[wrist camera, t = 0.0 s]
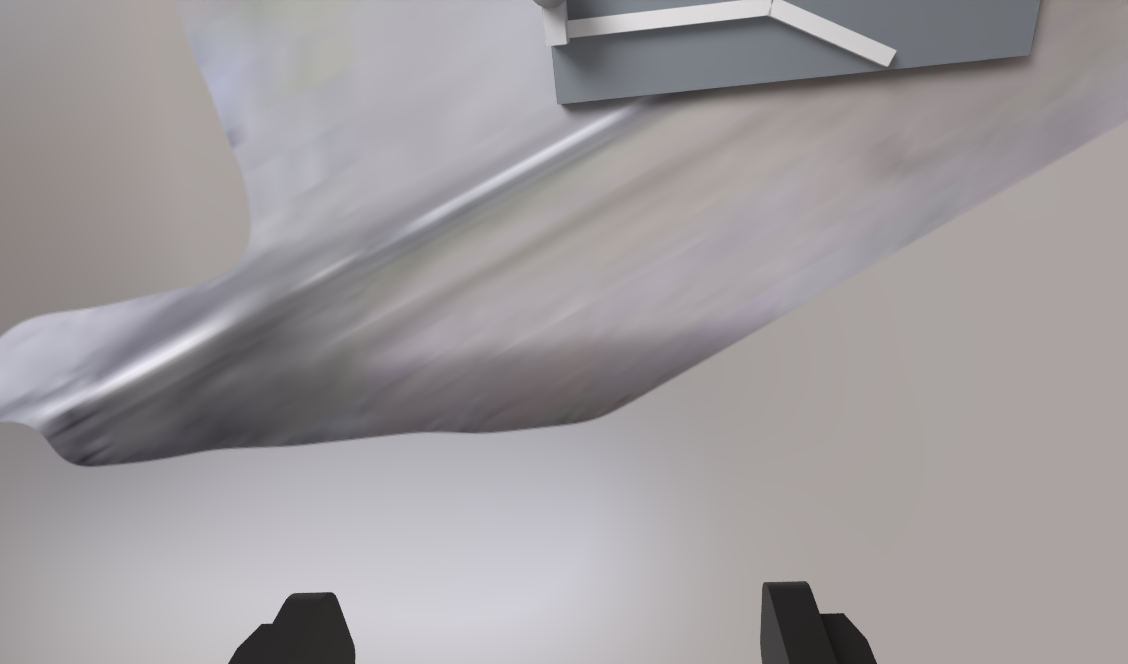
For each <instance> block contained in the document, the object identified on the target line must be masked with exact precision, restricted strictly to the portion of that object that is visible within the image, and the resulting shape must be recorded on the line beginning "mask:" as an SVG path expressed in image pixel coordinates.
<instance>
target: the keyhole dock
mask: <svg viewBox="0 0 1128 664" xmlns="http://www.w3.org/2000/svg"><path fill="white" fill-rule="evenodd" d="M534 1H535V3H537V4H538V5H540V6H542V14H543V23H544V32H545V42H546V46H551V48H552V58H553V67H554V77H555V87H556V96H557V104H567V103H576V102H586V101H595V100H605V99H614V98H624V97H634V96H643V95H653V94H662V93H672V92H682V91H691V90H701V89H710V88H720V87H729V86H739V85H749V84H758V83H768V82H777V81H787V80H796V79H806V78H816V77H825V76H835V75H844V74H854V73H864V72H873V71H883V70H892V69H902V68H911V67H921V66H931V65H940V64H950V63H959V62H969V61H979V60H988V59H998V58H1007V57H1017V56H1026V55H1030V52H1031V47H1032V42H1033V36H1034V31H1035V26H1036V21H1037V16H1038V11H1039V6H1040V1H1041V0H534Z"/></svg>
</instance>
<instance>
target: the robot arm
mask: <svg viewBox="0 0 1128 664" xmlns="http://www.w3.org/2000/svg"><path fill="white" fill-rule="evenodd" d="M760 645H761V657H762V664H877V663H876V660H875V658H874V655H873V653H872V650H871V648H870V646H869V643H868V641H867V639H866V638H865V637H864V636H863V635H862V634H861V632H860V631H859V630H858V629H857V628H856V627H855V626H854V625H853V624H852V622H851V621H850V620H849V619H848V618H847V617H846V616H845V615H844V613H840V614H839V613H837V614H820V613H819V610H818V608H817V605H816V602H815V599H814V596H813V593H812V591H811V588H810V586H809V584H808V583H807V582H805V581H799V582H765V583H763V588H762V612H761V635H760ZM228 664H355V648H354V643H353V640H352V638H351V635H350V633H349V630H348V627H347V624H346V621H345V618H344V616H343V613H342V610H341V607H340V605H339V602H338V599H337V597H336V595H335V594H334V593H331V592H326V593H325V592H323V593H294V594H292V595H290V596H289V597H288V598H287V599H286V601H285V602H284V604H283V606H282V607H281V609H280V611H279V613H278V615H277V616H276V618H275V620H274V622H273V624H261V625H260V626H259V627H258V628H257V629H256V630H255V631H254V632H253V633H252V634H251V635H250V636H249V637H248V638H247V639H246V640H245V641H244V642H243V643H242V644H241V645H240V646H239V647H238V648H237V650H236V651H235V653H234V655H233V657H232V658H231V660H230V662H229V663H228Z"/></svg>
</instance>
